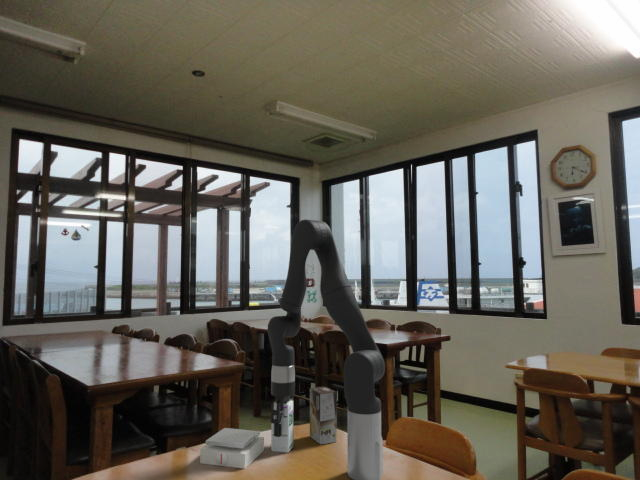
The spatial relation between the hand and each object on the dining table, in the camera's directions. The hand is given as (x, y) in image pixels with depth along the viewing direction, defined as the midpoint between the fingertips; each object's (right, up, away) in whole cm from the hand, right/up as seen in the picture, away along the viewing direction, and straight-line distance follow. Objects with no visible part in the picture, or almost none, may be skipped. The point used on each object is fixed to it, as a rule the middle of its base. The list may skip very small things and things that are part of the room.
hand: (282, 431), depth 141 cm
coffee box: (+13, -6, +8) cm, 17 cm away
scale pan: (-14, +1, -7) cm, 16 cm away
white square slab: (-14, -4, -7) cm, 16 cm away
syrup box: (0, -5, -1) cm, 5 cm away
